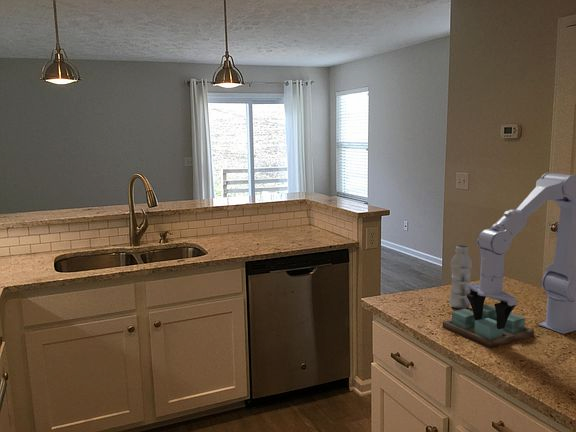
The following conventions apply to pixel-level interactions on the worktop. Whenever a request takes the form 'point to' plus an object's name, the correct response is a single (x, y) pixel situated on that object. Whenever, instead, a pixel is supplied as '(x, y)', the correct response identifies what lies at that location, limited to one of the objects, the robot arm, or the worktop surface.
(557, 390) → the worktop surface
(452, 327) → the puzzle tray
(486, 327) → the teal block
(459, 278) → the plastic bottle
